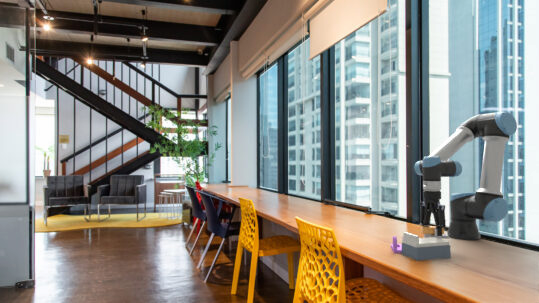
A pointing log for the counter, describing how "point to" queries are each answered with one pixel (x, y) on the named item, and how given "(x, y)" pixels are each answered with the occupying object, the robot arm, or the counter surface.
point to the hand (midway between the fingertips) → (432, 241)
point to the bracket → (396, 246)
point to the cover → (422, 241)
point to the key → (432, 231)
